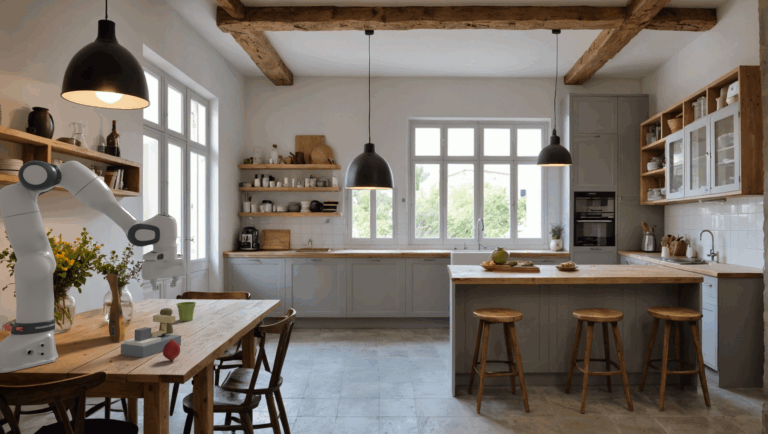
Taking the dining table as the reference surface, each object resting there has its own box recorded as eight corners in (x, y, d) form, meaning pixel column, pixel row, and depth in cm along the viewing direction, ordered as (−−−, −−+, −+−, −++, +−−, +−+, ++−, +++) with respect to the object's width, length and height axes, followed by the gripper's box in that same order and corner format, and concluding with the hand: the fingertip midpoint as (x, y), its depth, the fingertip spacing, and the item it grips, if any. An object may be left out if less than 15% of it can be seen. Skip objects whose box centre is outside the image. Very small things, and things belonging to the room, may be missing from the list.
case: (143, 357, 177) (143, 346, 177) (120, 354, 180) (120, 343, 180) (180, 345, 194) (181, 334, 195) (159, 342, 198) (159, 332, 198)
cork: (167, 334, 212) (167, 309, 212) (155, 334, 214) (155, 309, 214) (176, 331, 218) (176, 307, 218) (164, 331, 219) (164, 307, 220)
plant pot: (183, 323, 237) (183, 305, 237) (172, 320, 242) (172, 303, 242) (199, 320, 244) (200, 303, 245) (188, 317, 250) (188, 301, 250)
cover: (142, 346, 177) (142, 332, 177) (123, 344, 180) (124, 330, 180) (161, 340, 186) (161, 327, 186) (143, 338, 189) (143, 325, 189)
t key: (159, 339, 185) (159, 320, 185) (141, 337, 188) (141, 318, 188) (174, 335, 193) (175, 316, 193) (157, 333, 196) (157, 314, 196)
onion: (162, 363, 169) (162, 341, 170) (162, 359, 175) (163, 337, 175) (180, 362, 172) (180, 339, 172) (180, 357, 177) (180, 336, 177)
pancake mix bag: (107, 344, 195) (108, 275, 195) (105, 334, 211) (106, 271, 211) (126, 342, 198) (127, 274, 199) (122, 333, 215) (123, 270, 215)
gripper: (177, 252, 204) (177, 285, 204) (138, 255, 185) (138, 291, 185) (189, 253, 202) (189, 285, 202) (151, 256, 183) (151, 292, 183)
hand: (164, 288), depth 193 cm, fingers open, 8 cm apart
